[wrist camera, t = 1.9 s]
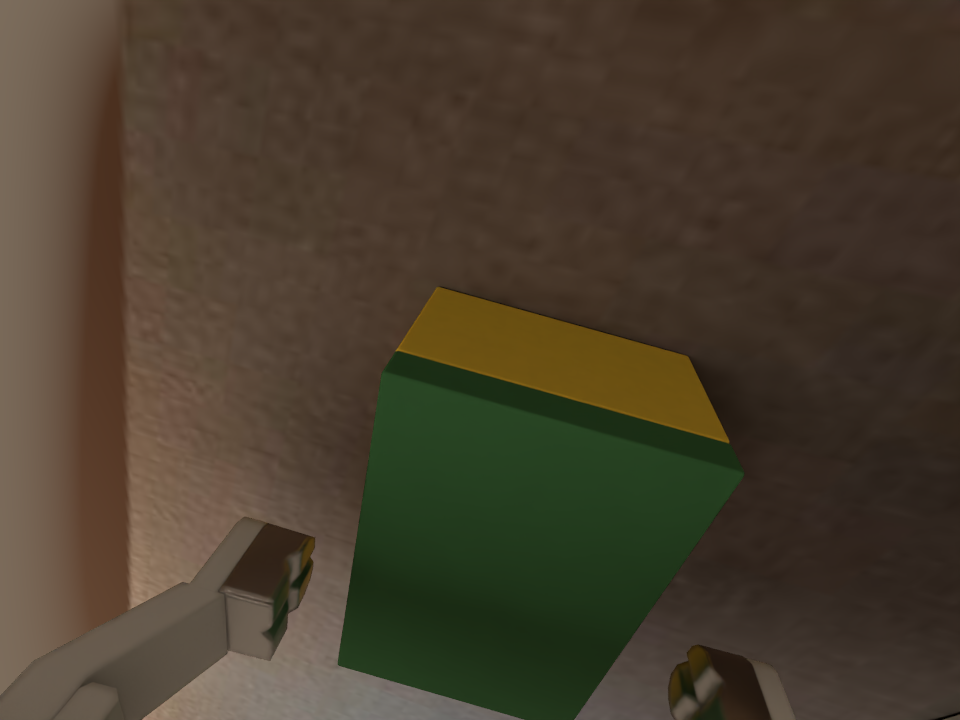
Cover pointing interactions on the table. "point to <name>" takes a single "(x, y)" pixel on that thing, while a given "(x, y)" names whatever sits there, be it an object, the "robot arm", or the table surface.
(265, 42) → the table surface
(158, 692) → the robot arm
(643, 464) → the sponge
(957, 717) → the plate
